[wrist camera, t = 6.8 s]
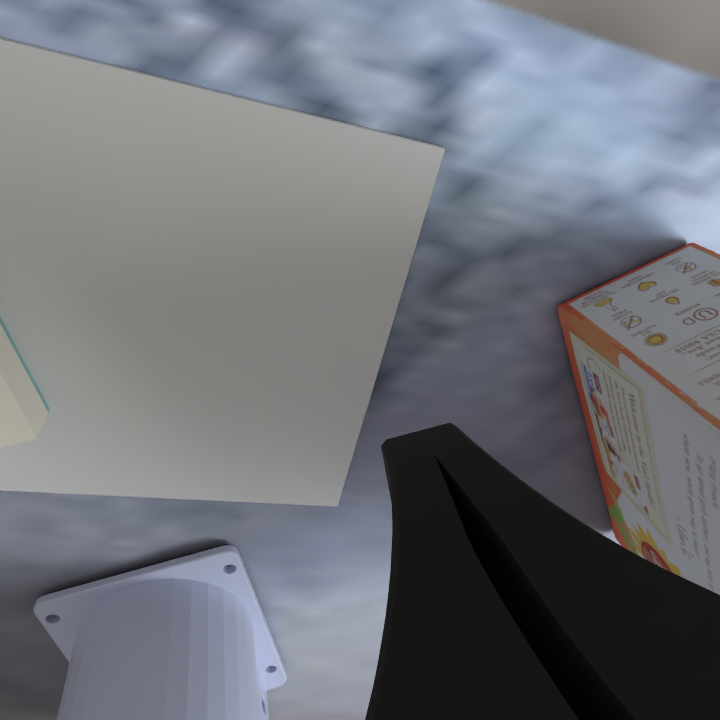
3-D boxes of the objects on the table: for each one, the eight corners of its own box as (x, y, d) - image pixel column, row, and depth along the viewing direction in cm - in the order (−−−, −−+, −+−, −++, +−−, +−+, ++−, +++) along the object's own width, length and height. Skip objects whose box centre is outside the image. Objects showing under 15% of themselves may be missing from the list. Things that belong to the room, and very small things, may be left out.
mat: (441, 146, 18) (445, 148, 18) (335, 499, 24) (337, 506, 24) (-447, -73, 12) (-466, -76, 12) (-293, 467, 18) (-302, 475, 18)
